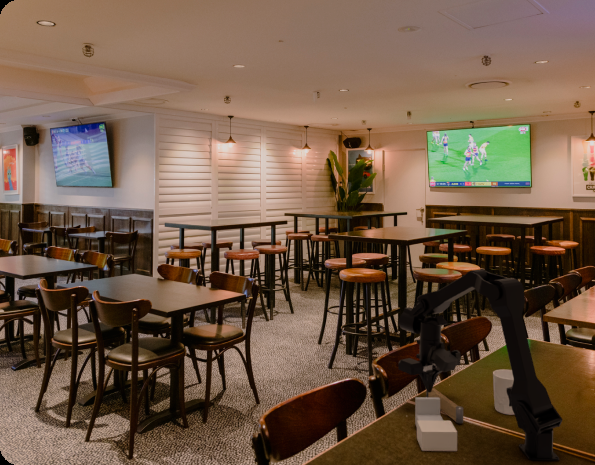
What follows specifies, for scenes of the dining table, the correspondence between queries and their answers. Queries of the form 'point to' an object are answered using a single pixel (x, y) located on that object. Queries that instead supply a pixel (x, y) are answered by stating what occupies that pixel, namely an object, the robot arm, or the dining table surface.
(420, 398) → the grey l-shaped block
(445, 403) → the tan long bar
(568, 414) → the dining table surface
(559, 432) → the dining table surface
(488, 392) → the dining table surface
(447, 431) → the socket block
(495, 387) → the white cup
